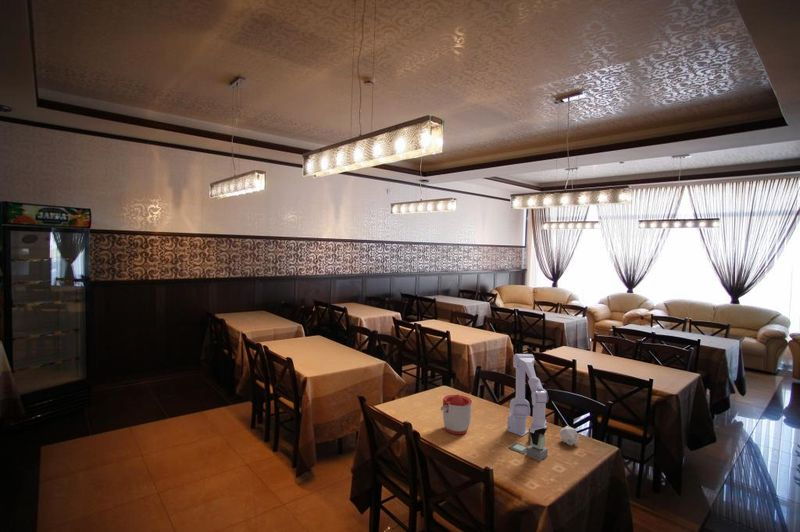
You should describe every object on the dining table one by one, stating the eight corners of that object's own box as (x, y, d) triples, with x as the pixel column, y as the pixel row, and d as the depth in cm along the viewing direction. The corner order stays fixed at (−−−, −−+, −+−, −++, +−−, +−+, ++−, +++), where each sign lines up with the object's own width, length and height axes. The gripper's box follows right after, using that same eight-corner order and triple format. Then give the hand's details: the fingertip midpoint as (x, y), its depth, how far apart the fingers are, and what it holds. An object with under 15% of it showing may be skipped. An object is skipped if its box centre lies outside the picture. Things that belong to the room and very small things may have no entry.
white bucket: (434, 426, 219) (435, 391, 218) (461, 422, 225) (463, 388, 224) (447, 439, 204) (448, 401, 203) (476, 434, 210) (477, 398, 210)
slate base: (526, 455, 191) (526, 447, 191) (534, 450, 196) (534, 443, 196) (539, 461, 186) (540, 453, 186) (547, 456, 190) (547, 448, 190)
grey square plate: (508, 448, 197) (508, 447, 197) (515, 443, 203) (516, 441, 203) (523, 454, 191) (523, 453, 191) (530, 448, 197) (530, 447, 197)
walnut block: (528, 441, 205) (528, 432, 205) (532, 438, 209) (532, 429, 208) (537, 445, 201) (537, 435, 201) (541, 441, 205) (541, 432, 205)
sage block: (530, 445, 190) (530, 435, 190) (534, 442, 194) (535, 432, 194) (540, 449, 187) (540, 439, 187) (544, 445, 191) (545, 435, 190)
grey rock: (562, 447, 201) (575, 435, 197) (552, 432, 208) (565, 420, 205) (572, 450, 205) (585, 438, 201) (562, 435, 212) (575, 423, 208)
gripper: (540, 422, 182) (538, 450, 183) (553, 413, 192) (551, 440, 193) (526, 417, 187) (524, 445, 187) (539, 409, 197) (537, 435, 198)
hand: (537, 442), depth 191 cm, fingers closed on sage block, 5 cm apart
